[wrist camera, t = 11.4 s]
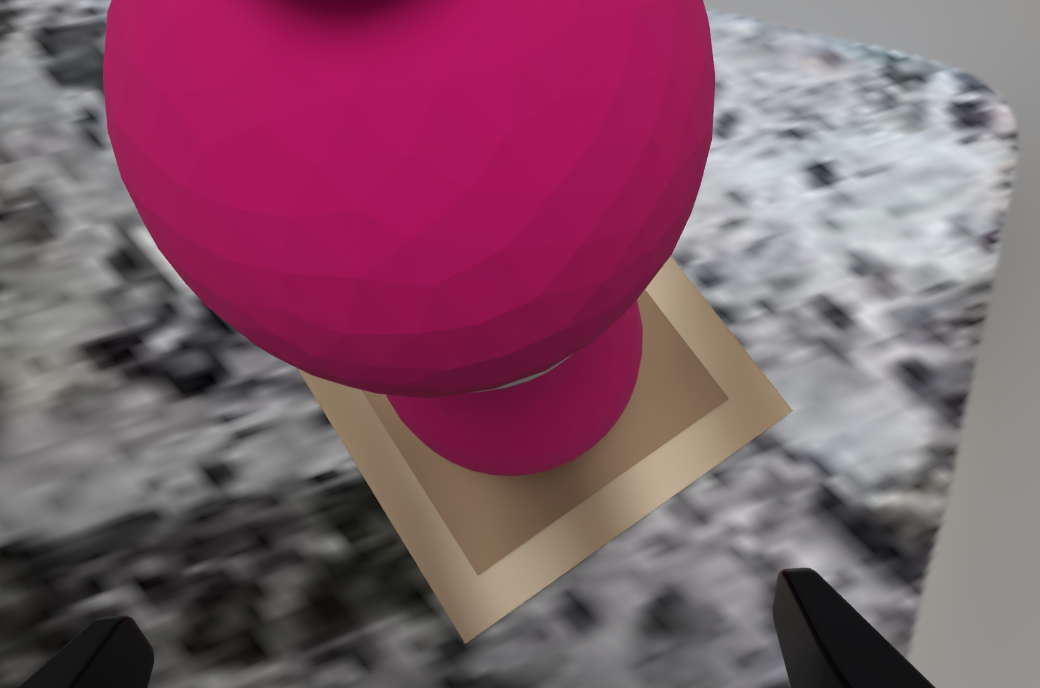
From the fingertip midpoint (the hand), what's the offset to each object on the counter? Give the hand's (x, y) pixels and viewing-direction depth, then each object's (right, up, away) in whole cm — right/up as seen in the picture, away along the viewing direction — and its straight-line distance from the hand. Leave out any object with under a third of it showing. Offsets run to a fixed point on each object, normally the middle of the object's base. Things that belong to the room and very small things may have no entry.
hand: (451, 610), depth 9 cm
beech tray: (+1, +3, +14) cm, 15 cm away
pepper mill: (+1, +3, +14) cm, 14 cm away
